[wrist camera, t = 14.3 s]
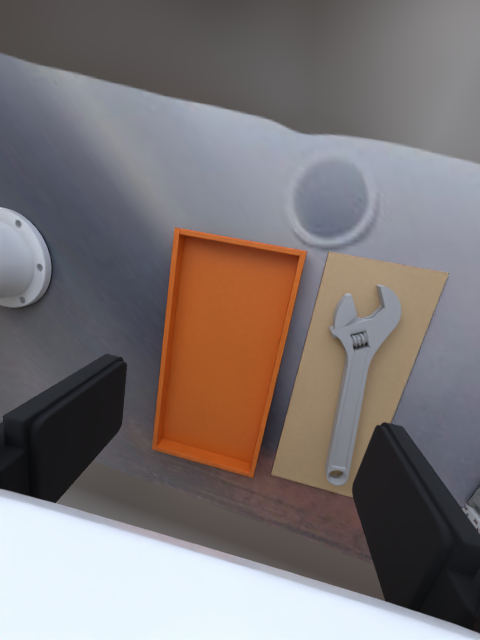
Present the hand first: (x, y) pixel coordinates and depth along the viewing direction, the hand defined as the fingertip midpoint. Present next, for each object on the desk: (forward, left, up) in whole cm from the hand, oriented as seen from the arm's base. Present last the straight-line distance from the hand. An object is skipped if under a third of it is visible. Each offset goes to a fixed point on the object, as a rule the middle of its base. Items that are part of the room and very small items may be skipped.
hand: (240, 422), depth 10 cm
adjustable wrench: (+10, -8, -22) cm, 26 cm away
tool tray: (-5, -8, -22) cm, 24 cm away
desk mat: (+11, -8, -22) cm, 26 cm away
